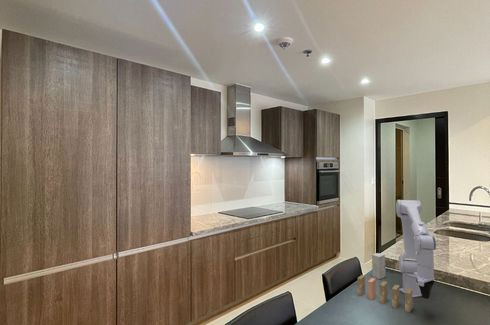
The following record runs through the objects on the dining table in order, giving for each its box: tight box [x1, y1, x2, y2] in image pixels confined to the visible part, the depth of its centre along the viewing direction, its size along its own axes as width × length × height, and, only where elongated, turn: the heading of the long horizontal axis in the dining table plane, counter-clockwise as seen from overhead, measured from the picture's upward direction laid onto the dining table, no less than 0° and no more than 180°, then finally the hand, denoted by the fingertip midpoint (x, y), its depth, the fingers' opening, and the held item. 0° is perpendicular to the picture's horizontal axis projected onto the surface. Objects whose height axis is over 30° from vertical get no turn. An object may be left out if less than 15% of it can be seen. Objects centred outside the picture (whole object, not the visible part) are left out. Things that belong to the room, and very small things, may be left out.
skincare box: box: [371, 252, 386, 280], centre depth 146 cm, size 6×4×12 cm
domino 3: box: [379, 280, 389, 305], centre depth 121 cm, size 2×5×8 cm, turn 135°
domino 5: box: [404, 288, 414, 313], centre depth 114 cm, size 2×5×8 cm, turn 134°
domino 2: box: [367, 277, 377, 300], centre depth 125 cm, size 2×5×8 cm, turn 134°
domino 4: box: [391, 284, 401, 309], centre depth 118 cm, size 2×5×8 cm, turn 134°
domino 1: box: [357, 274, 366, 297], centre depth 128 cm, size 2×5×8 cm, turn 134°
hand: (425, 297), depth 110 cm, fingers closed
